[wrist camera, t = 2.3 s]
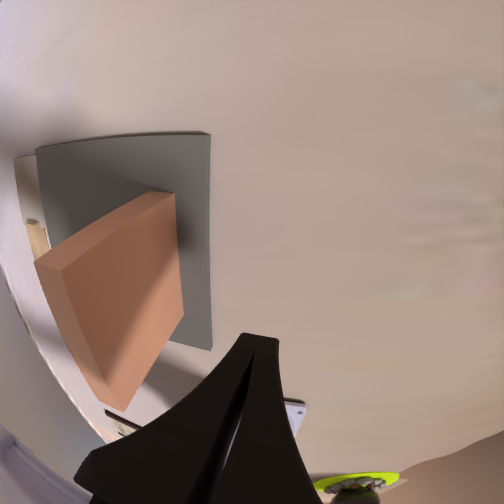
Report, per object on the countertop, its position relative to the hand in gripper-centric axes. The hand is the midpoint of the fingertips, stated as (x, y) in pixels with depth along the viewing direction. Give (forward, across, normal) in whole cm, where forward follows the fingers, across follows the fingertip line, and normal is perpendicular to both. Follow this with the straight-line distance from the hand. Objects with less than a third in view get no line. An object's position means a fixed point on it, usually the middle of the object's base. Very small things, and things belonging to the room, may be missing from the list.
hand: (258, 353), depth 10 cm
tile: (+5, +6, 0) cm, 8 cm away
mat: (+6, +11, 0) cm, 12 cm away
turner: (+6, +20, +2) cm, 21 cm away
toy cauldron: (+6, -19, +39) cm, 44 cm away
